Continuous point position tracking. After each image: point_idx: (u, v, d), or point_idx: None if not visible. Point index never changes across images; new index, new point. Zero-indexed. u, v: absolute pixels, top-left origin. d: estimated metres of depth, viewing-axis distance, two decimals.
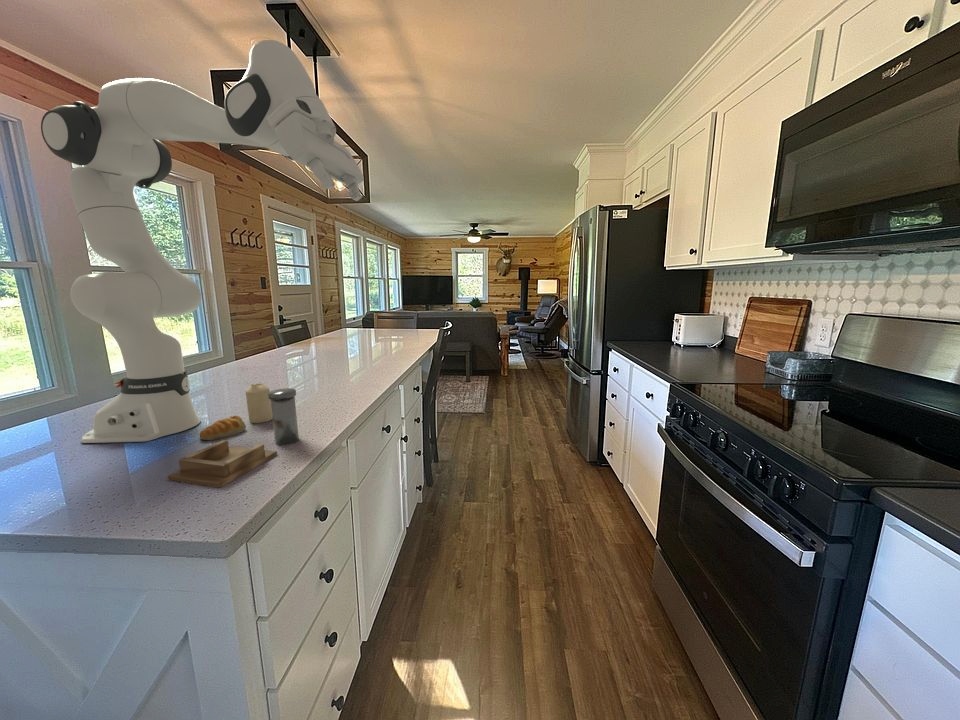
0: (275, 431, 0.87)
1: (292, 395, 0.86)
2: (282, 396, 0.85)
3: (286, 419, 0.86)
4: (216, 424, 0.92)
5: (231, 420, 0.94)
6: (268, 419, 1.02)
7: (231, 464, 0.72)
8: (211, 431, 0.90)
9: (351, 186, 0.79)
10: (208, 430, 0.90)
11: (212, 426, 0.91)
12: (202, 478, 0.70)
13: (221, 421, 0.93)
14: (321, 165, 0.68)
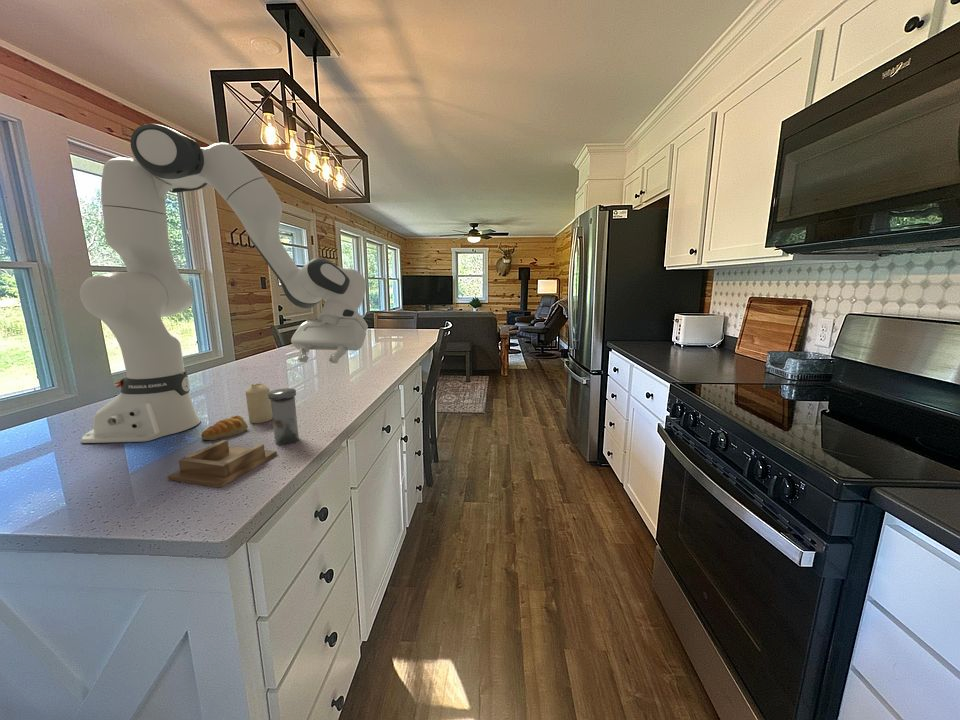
0: (275, 431, 0.87)
1: (292, 395, 0.86)
2: (282, 396, 0.85)
3: (286, 419, 0.86)
4: (218, 424, 0.92)
5: (233, 420, 0.94)
6: (268, 419, 1.02)
7: (231, 464, 0.72)
8: (213, 431, 0.90)
9: (303, 350, 1.01)
10: (210, 430, 0.90)
11: (214, 426, 0.91)
12: (202, 478, 0.70)
13: (223, 421, 0.93)
14: None
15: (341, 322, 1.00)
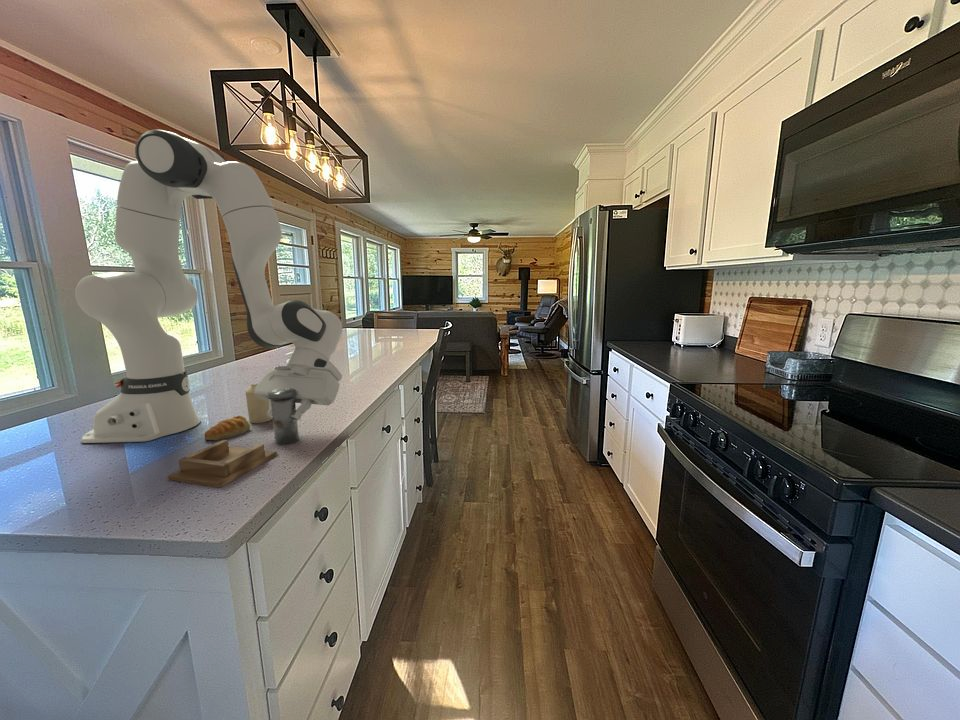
0: (275, 431, 0.87)
1: (292, 395, 0.87)
2: (282, 396, 0.85)
3: (286, 419, 0.86)
4: (221, 424, 0.92)
5: (236, 420, 0.94)
6: (268, 419, 1.02)
7: (231, 464, 0.72)
8: (216, 431, 0.90)
9: None
10: (213, 430, 0.90)
11: (217, 426, 0.91)
12: (202, 478, 0.70)
13: (226, 421, 0.93)
14: None
15: (312, 373, 0.91)
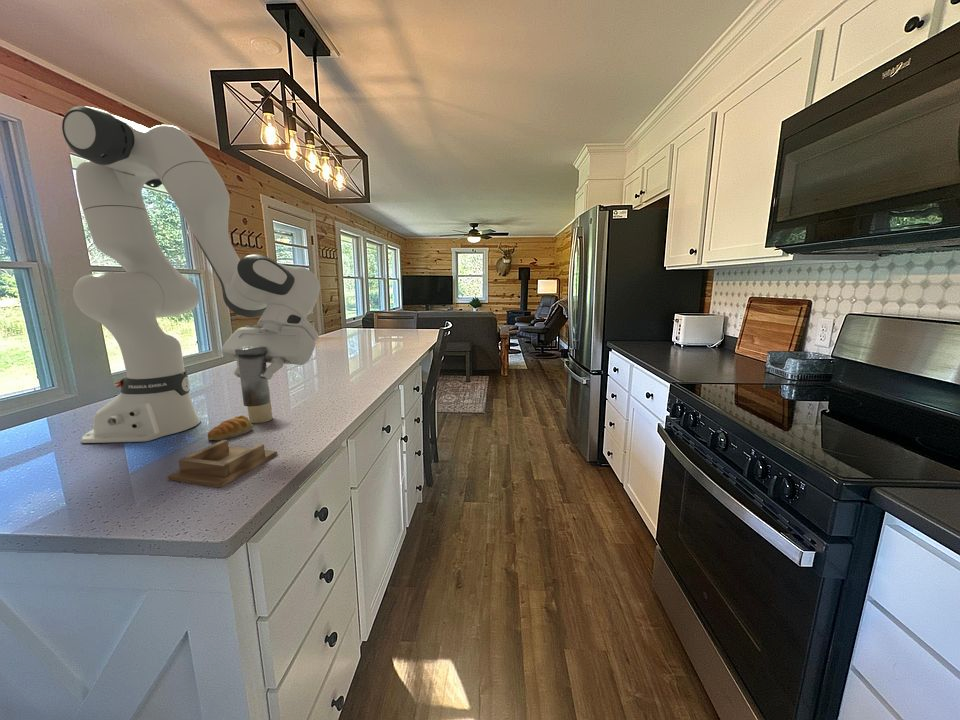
0: (243, 391, 0.79)
1: (262, 352, 0.79)
2: (250, 352, 0.77)
3: (255, 378, 0.79)
4: (224, 424, 0.92)
5: (238, 420, 0.94)
6: (268, 419, 1.02)
7: (231, 464, 0.72)
8: (220, 431, 0.90)
9: None
10: (217, 430, 0.89)
11: (220, 426, 0.91)
12: (202, 478, 0.70)
13: (228, 421, 0.93)
14: None
15: (285, 330, 0.83)
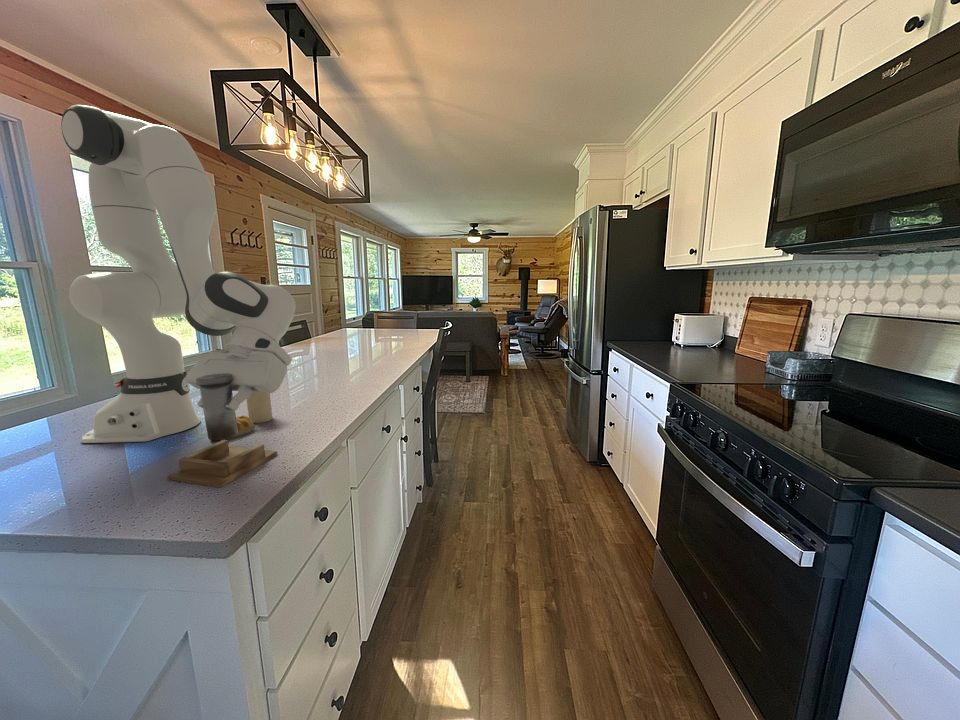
0: (206, 424, 0.73)
1: (226, 380, 0.72)
2: (212, 381, 0.71)
3: (219, 410, 0.72)
4: None
5: (240, 420, 0.94)
6: (268, 419, 1.02)
7: (231, 464, 0.72)
8: None
9: None
10: None
11: None
12: (202, 478, 0.70)
13: None
14: None
15: (253, 355, 0.77)
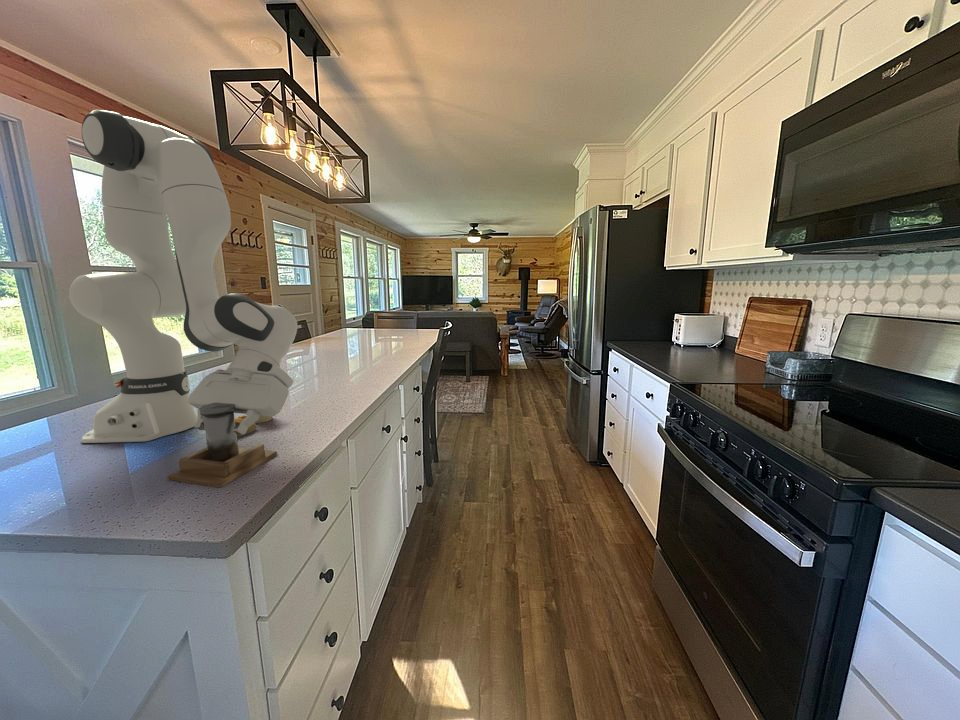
0: (209, 452, 0.74)
1: (229, 410, 0.74)
2: (215, 411, 0.72)
3: (222, 439, 0.74)
4: None
5: None
6: (268, 419, 1.02)
7: (231, 464, 0.72)
8: None
9: None
10: None
11: None
12: (202, 478, 0.70)
13: None
14: None
15: (255, 378, 0.78)
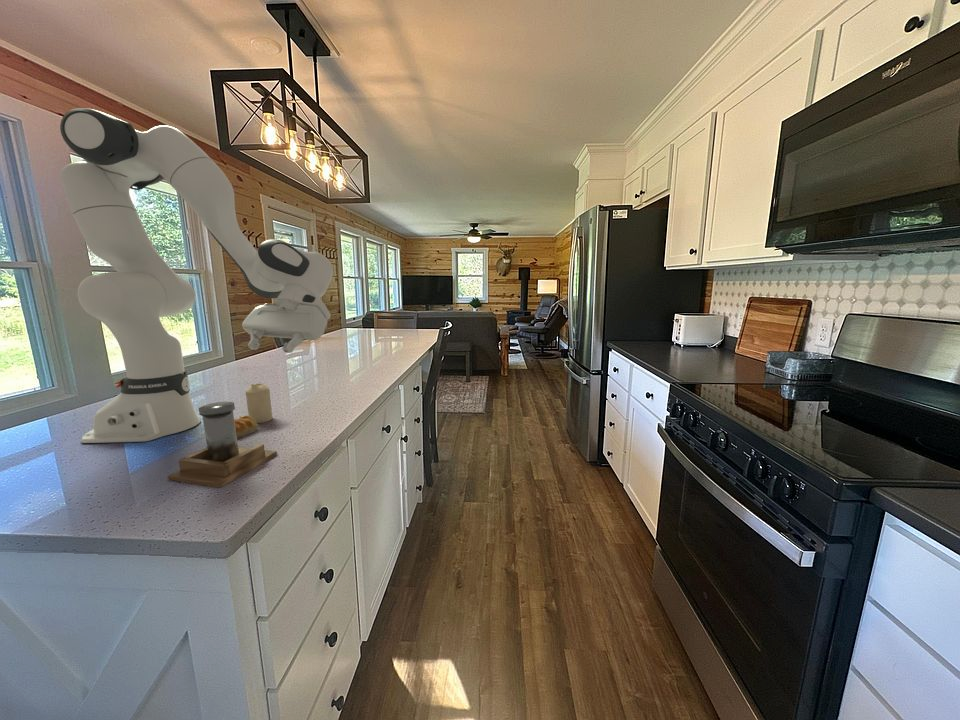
0: (209, 452, 0.74)
1: (228, 410, 0.74)
2: (215, 412, 0.72)
3: (221, 439, 0.74)
4: None
5: (244, 420, 0.94)
6: (268, 419, 1.02)
7: (231, 464, 0.72)
8: None
9: (255, 336, 0.91)
10: None
11: None
12: (202, 478, 0.70)
13: (234, 421, 0.93)
14: None
15: (300, 308, 0.91)
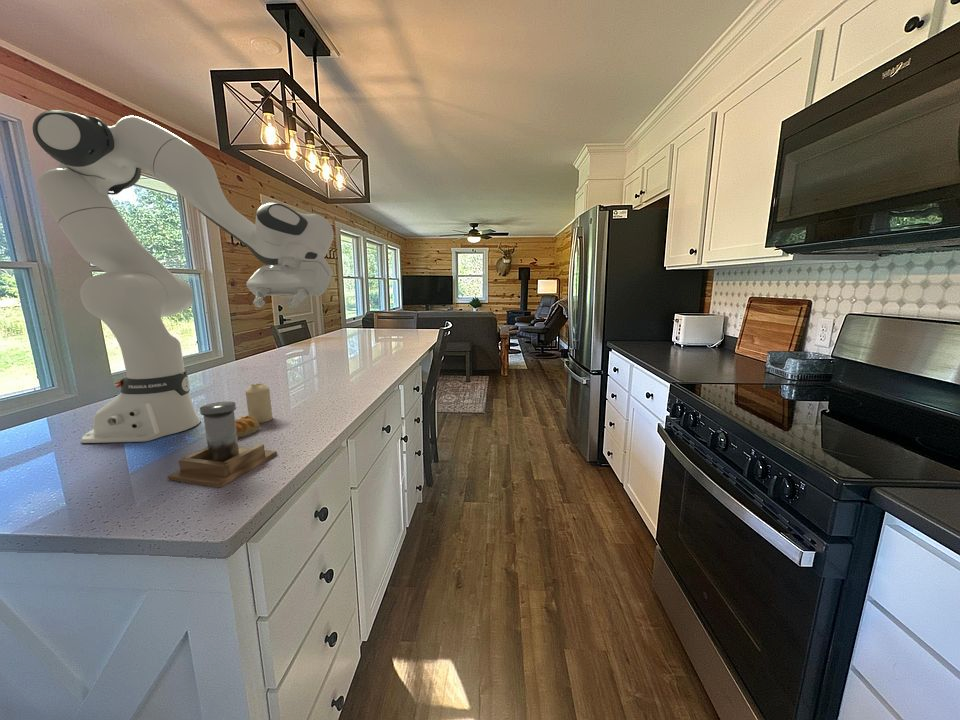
0: (209, 452, 0.74)
1: (229, 410, 0.74)
2: (216, 411, 0.72)
3: (222, 439, 0.74)
4: None
5: (246, 420, 0.94)
6: (268, 419, 1.02)
7: (231, 464, 0.72)
8: None
9: (259, 294, 0.92)
10: None
11: None
12: (202, 478, 0.70)
13: (236, 421, 0.93)
14: None
15: (303, 265, 0.92)
